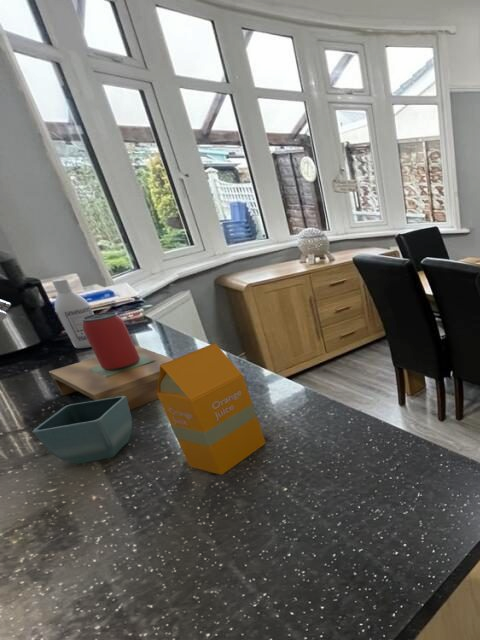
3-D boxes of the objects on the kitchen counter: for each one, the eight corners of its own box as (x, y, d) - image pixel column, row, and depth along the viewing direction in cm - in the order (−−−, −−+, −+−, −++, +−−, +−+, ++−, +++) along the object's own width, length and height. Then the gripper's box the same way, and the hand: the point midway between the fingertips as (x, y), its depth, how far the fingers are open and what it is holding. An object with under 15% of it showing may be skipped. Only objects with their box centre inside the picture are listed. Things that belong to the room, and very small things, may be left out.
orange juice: (266, 443, 73) (233, 344, 65) (221, 475, 65) (177, 368, 57) (235, 435, 75) (199, 339, 67) (187, 466, 67) (141, 362, 59)
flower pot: (88, 444, 73) (66, 404, 70) (146, 434, 76) (126, 394, 73) (56, 476, 66) (29, 432, 62) (121, 463, 68) (98, 420, 65)
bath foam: (113, 340, 122) (83, 276, 114) (89, 349, 116) (56, 283, 108) (92, 339, 123) (62, 277, 115) (68, 349, 116) (33, 283, 108)
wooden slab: (106, 419, 81) (93, 394, 79) (61, 394, 91) (48, 370, 89) (193, 385, 94) (183, 361, 92) (144, 365, 104) (135, 344, 102)
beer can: (129, 357, 95) (108, 310, 90) (147, 360, 93) (126, 312, 88) (95, 369, 89) (71, 319, 84) (114, 372, 87) (90, 322, 82)
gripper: (-110, 267, 64) (14, 309, 74) (-81, 253, 77) (21, 291, 87) (-140, 299, 62) (-11, 338, 73) (-105, 280, 75) (0, 315, 86)
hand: (7, 312), depth 80 cm, fingers open, 8 cm apart
